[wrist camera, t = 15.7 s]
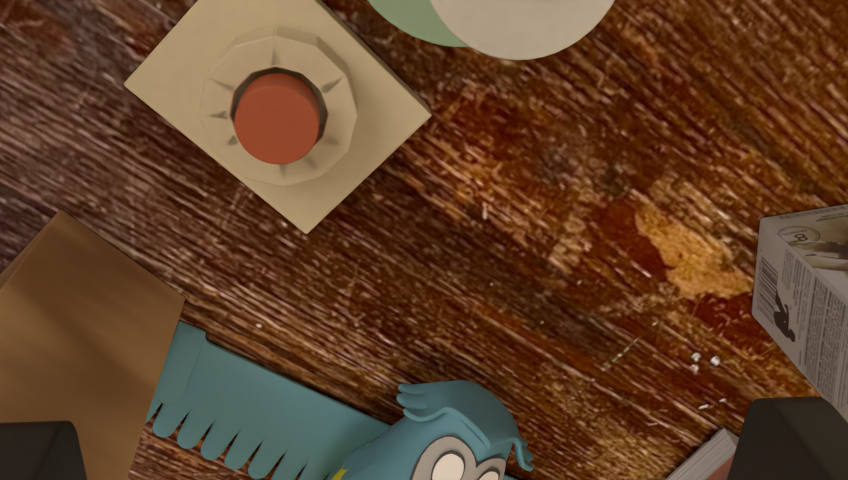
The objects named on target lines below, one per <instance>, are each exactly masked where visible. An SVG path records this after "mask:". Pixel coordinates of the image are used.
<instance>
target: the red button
mask: <svg viewBox="0 0 848 480" xmlns="http://www.w3.org/2000/svg"><path fill="white" fill-rule="evenodd" d="M234 122H235V131H236V135H237V137H238V140H239V142H240V143H241V145H242V146H243V147H244V149H245V150H246V151H247V152H248V153H249V154H251V155H252V156H253V157H255V158H257V159H258V160H261V161H263V162H266V163H270V164H288V163H292V162H295V161H297V160H299V159H301V158H302V157H304V156H305V155H306V154H308V153H309V151H310V150H311V149H312V148H313V146H314V145H315V143H316V140H317V137H318V133H319V122H320V108H319V103H318V100H317V98H316V96H315V94H314V92H313V91H312V90H311V88H310V87H309V86H308V85H307V84H306V83H304V82H303V81H302V80H300V79H298V78H296V77H294V76H291V75H288V74H283V73H272V74H267V75H264V76H261V77H259V78H257V79H256V80H254V81H253V82H252V83H250V84H249V85H248V87H247V88H246V89H245V91H244V92H243V94H242V97H241V99H240V102H239V105H238V108H237V110H236V114H235V121H234Z"/></svg>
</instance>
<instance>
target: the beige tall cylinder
mask: <svg viewBox="0 0 848 480" xmlns="http://www.w3.org/2000/svg"><path fill="white" fill-rule="evenodd" d="M429 1H430V3H431V5H432V7H433V9H434V10H435V12H436V14H437V15H438V17H439V19H440V20H441V21H442V23H443V24H444V25H445V26H446V27H447V29H448V30H449V31H450V32H451V33H452V34H453V35H454V36H456V37H457V38H458V39H459V40H460V41H462V42H463V43H465V44H466V45H467V46H469V47H471V48H473V49H475V50H477V51H479V52H480V53H483V54H486V55H489V56H492V57H496V58H501V59H508V60H528V59H535V58H540V57H545V56H548V55H551V54H554V53H557V52H559V51H561V50H563V49H565V48H567V47H569V46H571V45H572V44H574V43H575V42H577V41H578V40H580V39H581V38H582V37H584V36H585V35H586V34H587V33H589V32H590V31H591V30H592V29H593V28H594V27H595V26H596V25H597V24H598V23H599V22H600V21H601V20H602V18H603V17H604V16H605V14H606V13H607V12H608V10H609V9H610V7H611V6H612V4H613V2H614V1H615V0H429Z"/></svg>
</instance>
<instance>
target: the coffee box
mask: <svg viewBox="0 0 848 480" xmlns="http://www.w3.org/2000/svg"><path fill="white" fill-rule="evenodd" d="M752 315H753V317H754V318H755V319H756V320H757V321H758V322H759V323H760V324H761V325H762V326H763V328H764V329H765V330H766V331H767V332H768V334H769V335H770V336H771V337H772V339H773V340H774V341H775V342H776V343H777V344H778V346H779V347H780V348H781V349H782V351H783V352H784V353H785V354H786V355H787V356H788V358H789V359H790V360H791V361H792V362H793V363H794V365H795V366H796V367H797V368H798V369H799V370H800V372H801V373H802V374H803V375H804V376H805V378H806V379H807V380H808V381H809V382H810V384H811V385H812V386H813V387H814V388H815V390H816V391H817V392H818V393H819V395H820V396H821V397H822V398H824V399H825V400H827V401H828V402H830V403H831V404H832V405H833V406H834V408H835V409H836V410H837V411H838V412H839V413H840V415H841V416H842V417H843V418H844V419H845V420H846V422H847V423H848V204H845V205H839V206H833V207H827V208H821V209H815V210H809V211H802V212H796V213H790V214H784V215H778V216H772V217H765V218H762V219H761V220H760V227H759V238H758V249H757V259H756V270H755V281H754V293H753V304H752Z"/></svg>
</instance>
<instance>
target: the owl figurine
mask: <svg viewBox="0 0 848 480" xmlns="http://www.w3.org/2000/svg"><path fill="white" fill-rule="evenodd" d="M205 335H206V332H205V331H203V330H201V329H199V328H197V327H194V326H191V325H189V324H186V323H184V322H181V321H179V322H178V324H177V326H176V329H175V332H174V335H173V339H172V342H171V345H170V348H169V351H168V354H167V357H166V360H165V363H164V366H163V369H162V372H161V375H160V379H159V382H158V385H157V388H156V391H155V394H154V397H153V400H152V403H151V406H150V409H149V412H148V416H147V419H146V422H145V423H147V422H148V421H149V420H150V419H151V417H152V416H153V415H154V413H155V412H156V410H157V409H158V407H159V406H160V404H161V403H163V405H162V408H161V409H160V411H159V413H158V415H157V417H156V419H155V421H154V424H153V432H154V433H155V434H156V435H157V436H159V437H167V436H170V435H171V434H172V433H173V432H174V431H175V429H176V428H177V427H178V425H179V424H180V422H181V421H182V420H183V418H184V417H185V416H186V415H187V414H188V413H189V414H188V416H187V418H186V420H185V421H184V423H183V425H182V427H181V429H180V431H179V433H178V436H177V443H178V444H179V445H180V446H181V447H182V448H185V449H190V448H193V447H194V446H195V445H196V444H197V443H198V442H199V441H200V439H201V438H202V436H203V435H204V434H205V432H206V431H207V429H208V428H209V427H210V426H211V424H212V423H213V424H212V426H211V429H210V431H209V433H208V434H207V436H206V438H205V440H204V442H203V444H202V447H201V455H202V456H203V457H204V458H205V459H208V460H214V459H216V458H218V457H219V456H220V455H221V454H222V453H223V451H224V450H225V449H226V447H227V446H228V444H229V443H230V442H231V440H232V439H233V438H234V436H235V435H236V434H237V433H238V434H237V436H236V438H235V440H234V442H233V443H232V445H231V447H230V449H229V451H228V452H227V454H226V457H225V465H226V466H227V467H228V468H229V469H233V470H235V469H239V468H241V467H242V466H243V465H244V464H245V463H246V462H247V460H248V459H249V458H250V456H251V455H252V454H253V452H254V451H255V449H256V448H257V447H258V446H259V444H260V443H261V445H260V447H259V449H258V451H257V452H256V454H255V456H254V458H253V459H252V461H251V463H250V465H249V468H248V474H249V475H250V476H251V477H252V478H255V479H261V478H263V477H265V476H266V475H267V474H268V473H269V472H270V471H271V469H272V468H273V467H274V465H275V464H276V463H277V461H278V460H279V459H280V458H281V456H282V455H283V454H284V453H285V454H284V456H283V458H282V460H281V461H280V463H279V465H278V466H277V468H276V470H275V472H274V474H273V476H272V479H271V480H294V479H295V478H296V476H297V475H298V474H299V472H300V471H301V470H302V468H303V467H304V466H305V467H304V469H303V471H302V472H301V474H300V476H299V477H298V479H297V480H323V479H324V478H325V477H326V476H327V475H328V473H329V475H328V476H327V478H326V480H518V479H516V478H513V477H511V476H508V475H506V474H504V472H505V466H506V461H507V458H508V456H509V453H510V450H511V447H512V444H513V443H514V446H515V457H516V459H517V461H518V463H519V465H520V467H522V468H523V469H525V470H527V471H532V470H533V465H532V464H530V463H529V462H528V461H532V460H533V455H532V454H531V453H530V451H529V450H528V449H526V448H525V447H527V442H526V441H525V440H524V438H523V437H521V436H520V434H519V431H518V428H517V425H516V422H515V420H514V418H513V415H512V414H511V413H510V412H509V410H508V409H507V408H506V407H505V406H504V405H503V404H502V403H501V402H500V401H499V400H498V399H497V398H496V397H495V396H494V395H493V394H492V393H490V392H489V391H487V390H486V389H485V388H483V387H482V386H480V385H478V384H476V383H474V382H472V381H467V380H456V381H448V382H446V381H438V382H436V383H422V384H407V383H404V384H400V385H399V387H398V389H399V390H400V391H401V392H403V393H400V394H398V395H397V398H396V399H397V401H398V402H399V403H400V404H402V405H403V406H404V407H407V408H404V409H403V413H404V415H406V416H405V417H403V418H402V419H400V420H399V421H398V422H396V423H395V424H394V425H392V426H390V425H388V424H386V423H384V422H382V421H379V420H377V419H375V418H373V417H370V416H368V415H366V414H364V413H362V412H360V411H357V410H355V409H353V408H351V407H349V406H347V405H345V404H343V403H341V402H338V401H336V400H334V399H332V398H329V397H327V396H325V395H322V394H320V393H318V392H316V391H313V390H311V389H309V388H307V387H305V386H303V385H301V384H299V383H296V382H294V381H292V380H290V379H288V378H286V377H284V376H281V375H279V374H277V373H275V372H273V371H271V370H269V369H266V368H264V367H262V366H260V365H258V364H256V363H254V362H252V361H249V360H247V359H245V358H243V357H241V356H239V355H237V354H234V353H232V352H230V351H228V350H226V349H224V348H221V347H219V346H217V345H215V344H213V343H211V342H209V341H208V340H207V339H206V337H205ZM408 408H409V409H408Z"/></svg>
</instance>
